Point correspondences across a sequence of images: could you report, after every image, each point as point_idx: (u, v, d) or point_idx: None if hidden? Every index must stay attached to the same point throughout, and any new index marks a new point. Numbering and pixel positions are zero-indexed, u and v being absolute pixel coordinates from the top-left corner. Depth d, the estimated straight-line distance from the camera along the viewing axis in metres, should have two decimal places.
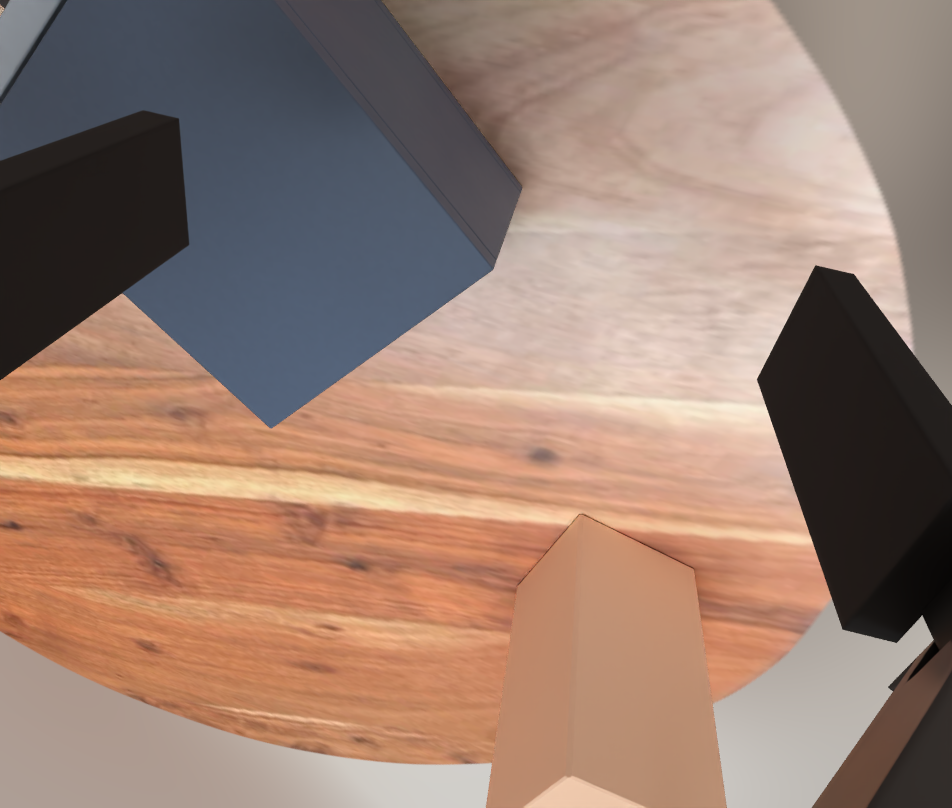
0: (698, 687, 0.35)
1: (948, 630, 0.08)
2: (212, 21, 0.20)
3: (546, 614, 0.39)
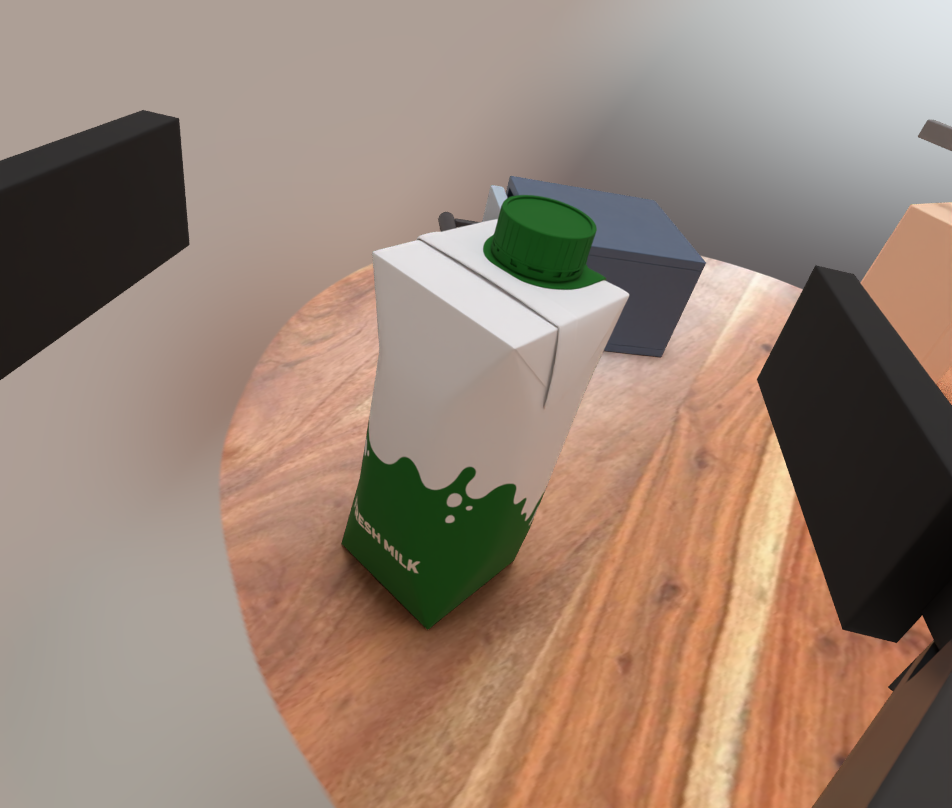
0: None
1: (948, 630, 0.08)
2: (549, 189, 0.60)
3: None
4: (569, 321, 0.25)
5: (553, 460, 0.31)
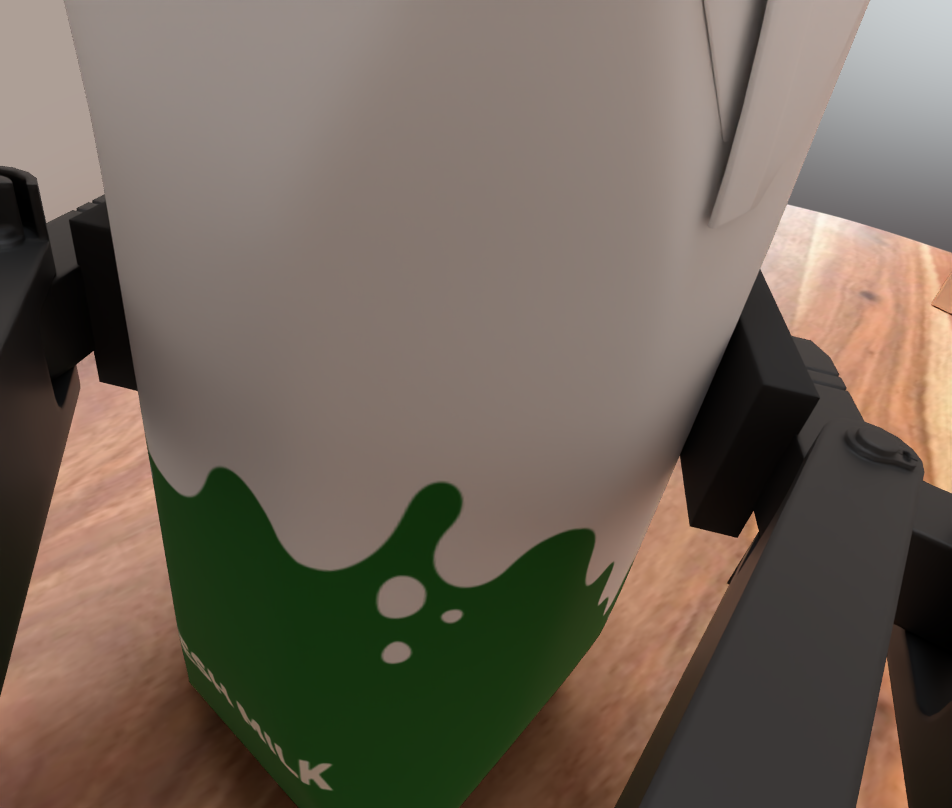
0: None
1: (766, 523, 0.09)
2: None
3: None
4: None
5: (679, 450, 0.11)
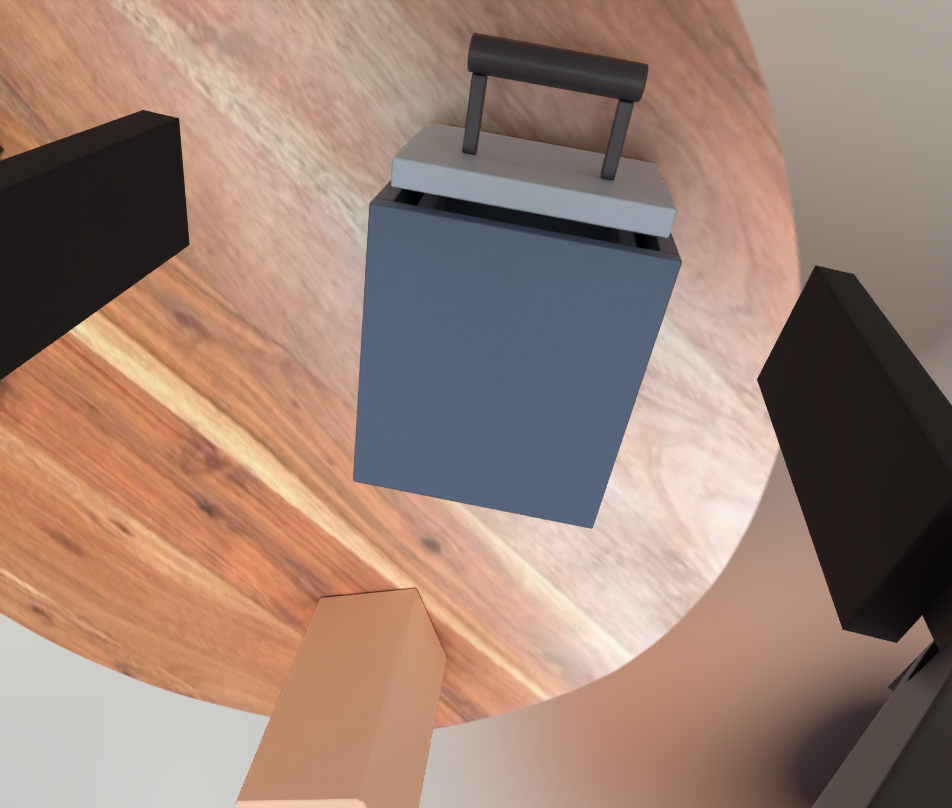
0: (424, 751, 0.49)
1: (948, 630, 0.08)
2: (611, 328, 0.28)
3: (357, 650, 0.48)
4: None
5: None
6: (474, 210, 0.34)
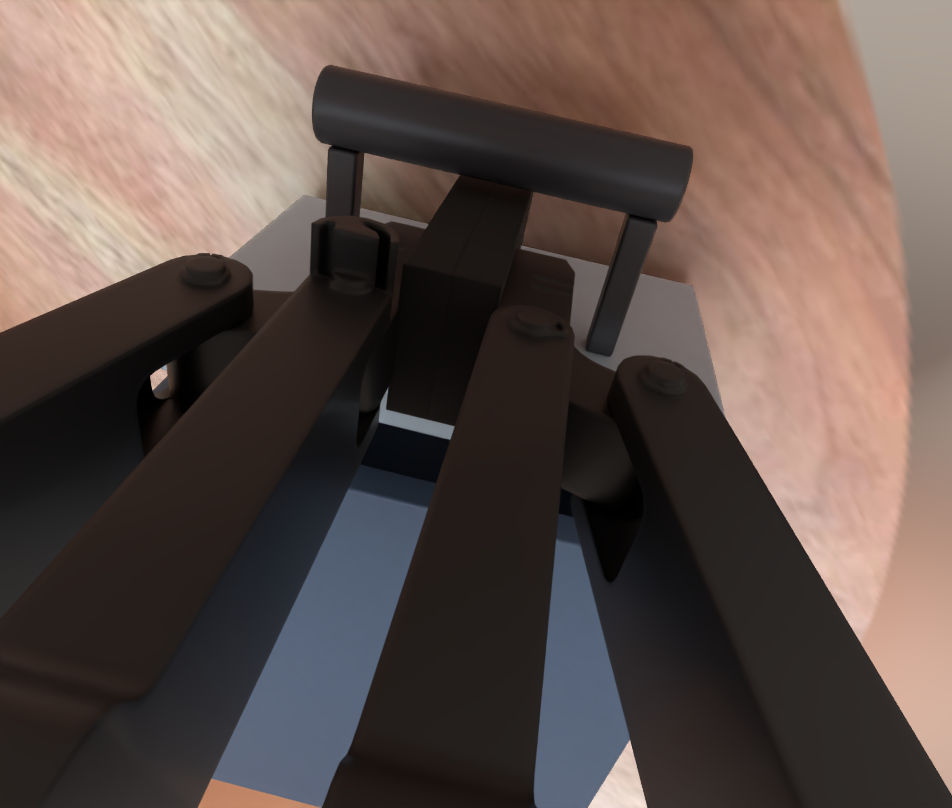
0: None
1: None
2: (585, 657, 0.15)
3: None
4: None
5: None
6: None
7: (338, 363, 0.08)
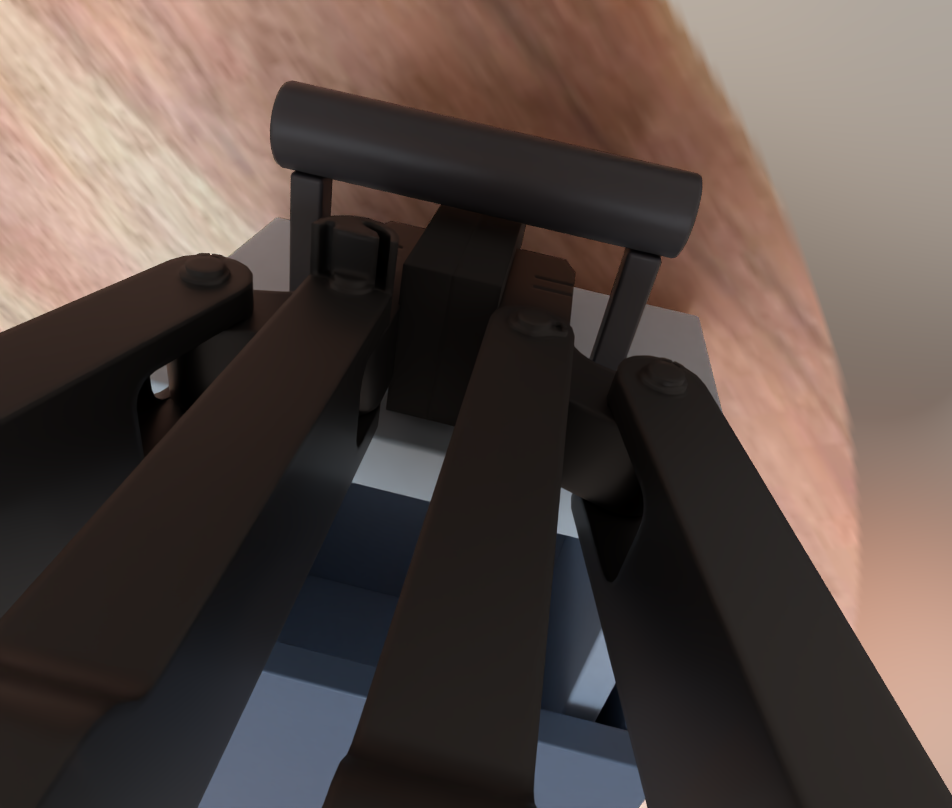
0: None
1: None
2: None
3: None
4: None
5: None
6: None
7: (338, 363, 0.08)
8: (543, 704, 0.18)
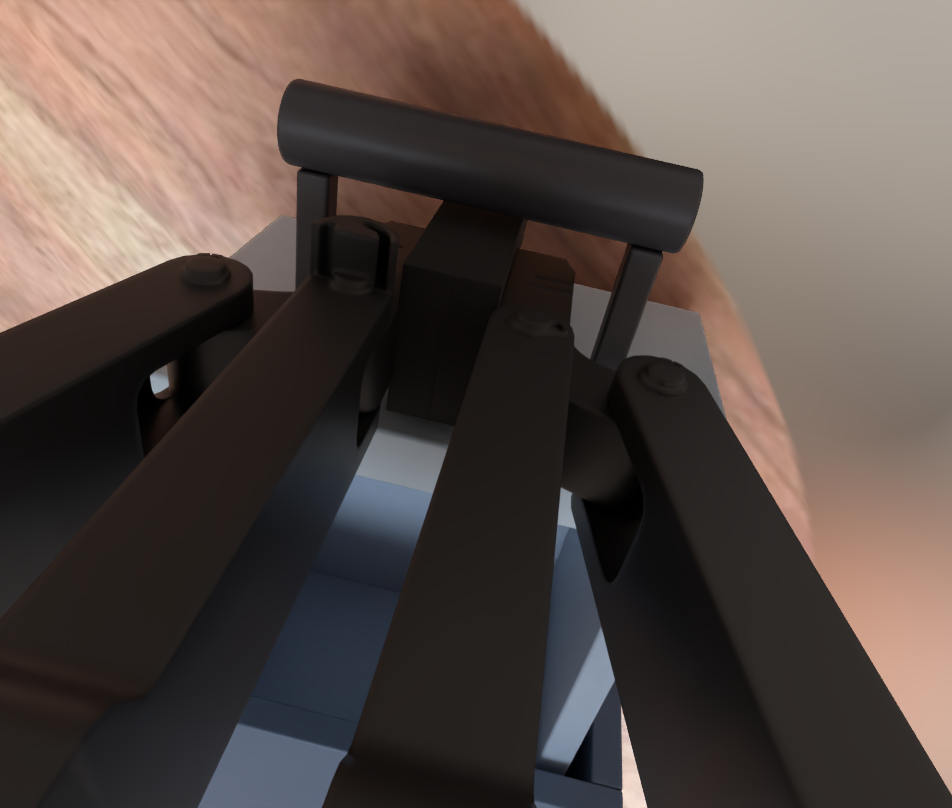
0: None
1: None
2: None
3: None
4: None
5: None
6: None
7: (338, 363, 0.08)
8: (546, 697, 0.18)
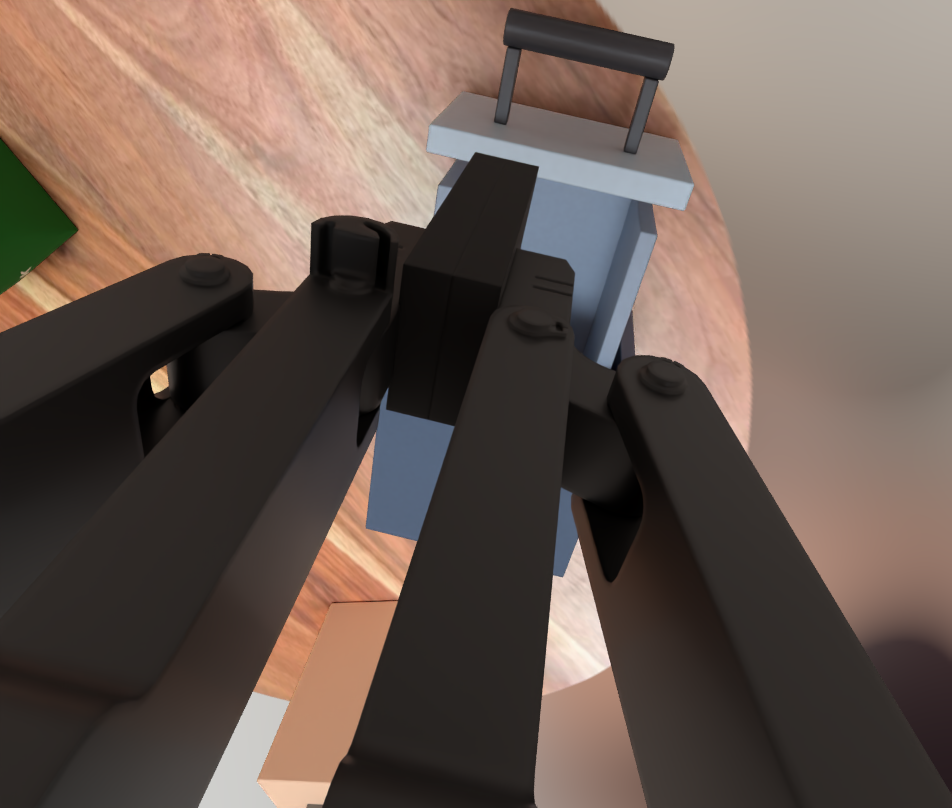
0: None
1: None
2: None
3: (362, 654, 0.56)
4: None
5: None
6: None
7: (338, 363, 0.08)
8: (599, 340, 0.34)
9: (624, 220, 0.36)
